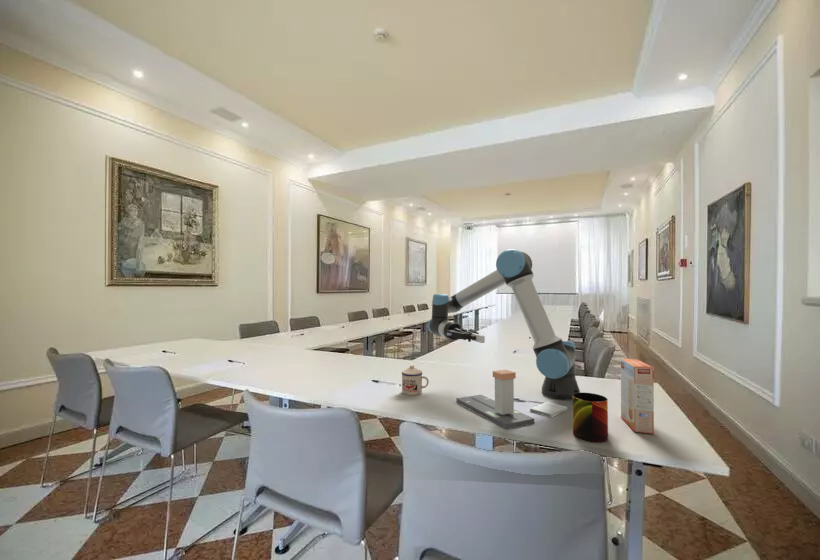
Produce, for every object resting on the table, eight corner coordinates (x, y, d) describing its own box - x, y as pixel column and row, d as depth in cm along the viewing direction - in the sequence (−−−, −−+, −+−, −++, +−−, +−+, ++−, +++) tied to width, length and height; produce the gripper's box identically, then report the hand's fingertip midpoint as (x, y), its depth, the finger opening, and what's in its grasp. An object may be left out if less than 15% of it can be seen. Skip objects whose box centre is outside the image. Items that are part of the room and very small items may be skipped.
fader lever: (492, 411, 127) (492, 371, 127) (506, 408, 129) (506, 369, 130) (502, 415, 122) (501, 374, 122) (515, 413, 125) (515, 372, 125)
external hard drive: (529, 412, 132) (546, 405, 140) (551, 418, 126) (567, 410, 134) (529, 408, 132) (546, 401, 141) (551, 414, 126) (567, 406, 134)
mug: (602, 427, 117) (602, 390, 117) (610, 445, 104) (610, 403, 104) (570, 423, 120) (570, 387, 120) (574, 440, 107) (574, 400, 107)
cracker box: (655, 434, 111) (654, 367, 112) (633, 432, 113) (632, 365, 113) (639, 419, 125) (639, 358, 125) (620, 417, 126) (619, 357, 127)
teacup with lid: (398, 394, 153) (398, 367, 153) (405, 388, 162) (405, 362, 162) (425, 397, 149) (425, 369, 150) (431, 391, 158) (431, 364, 158)
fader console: (456, 402, 143) (456, 397, 143) (481, 398, 148) (481, 394, 148) (506, 428, 116) (506, 423, 116) (534, 423, 121) (534, 418, 121)
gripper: (462, 337, 163) (496, 347, 142) (437, 339, 157) (469, 350, 136) (462, 321, 163) (496, 328, 141) (437, 322, 157) (469, 330, 136)
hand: (483, 339), depth 139 cm, fingers closed
